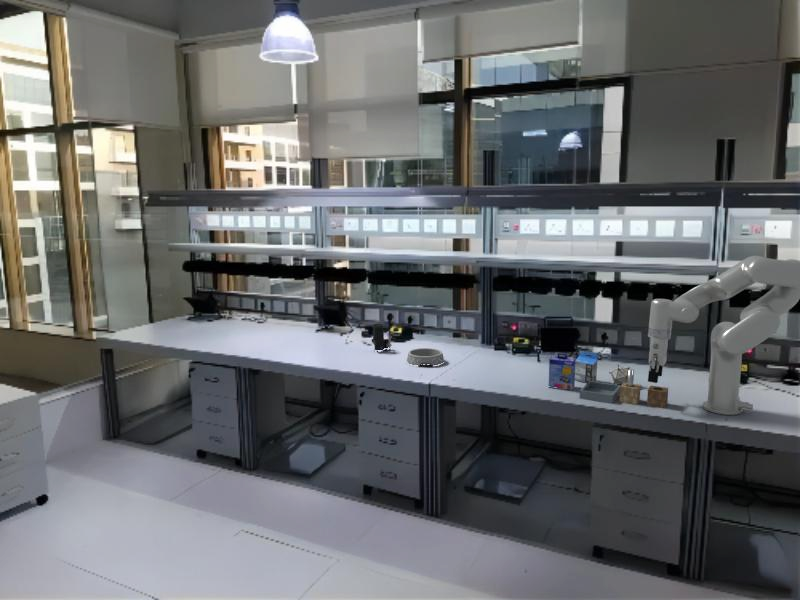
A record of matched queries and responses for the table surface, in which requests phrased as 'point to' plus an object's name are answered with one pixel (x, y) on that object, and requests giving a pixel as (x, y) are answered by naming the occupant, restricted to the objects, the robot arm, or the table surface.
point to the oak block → (630, 394)
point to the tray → (600, 392)
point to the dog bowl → (425, 356)
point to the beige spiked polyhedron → (620, 375)
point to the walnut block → (657, 396)
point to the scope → (380, 338)
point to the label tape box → (586, 367)
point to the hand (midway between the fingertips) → (654, 378)
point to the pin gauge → (630, 378)
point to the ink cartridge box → (562, 372)
